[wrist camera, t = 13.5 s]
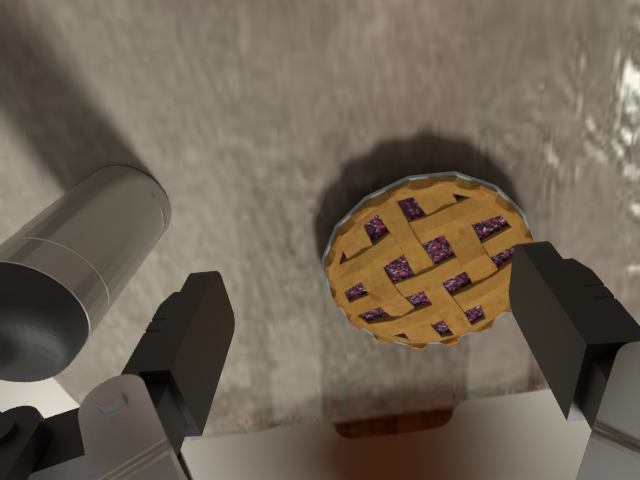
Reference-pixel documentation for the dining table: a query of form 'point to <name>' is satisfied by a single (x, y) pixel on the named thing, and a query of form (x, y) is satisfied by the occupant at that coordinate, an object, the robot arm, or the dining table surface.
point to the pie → (426, 259)
